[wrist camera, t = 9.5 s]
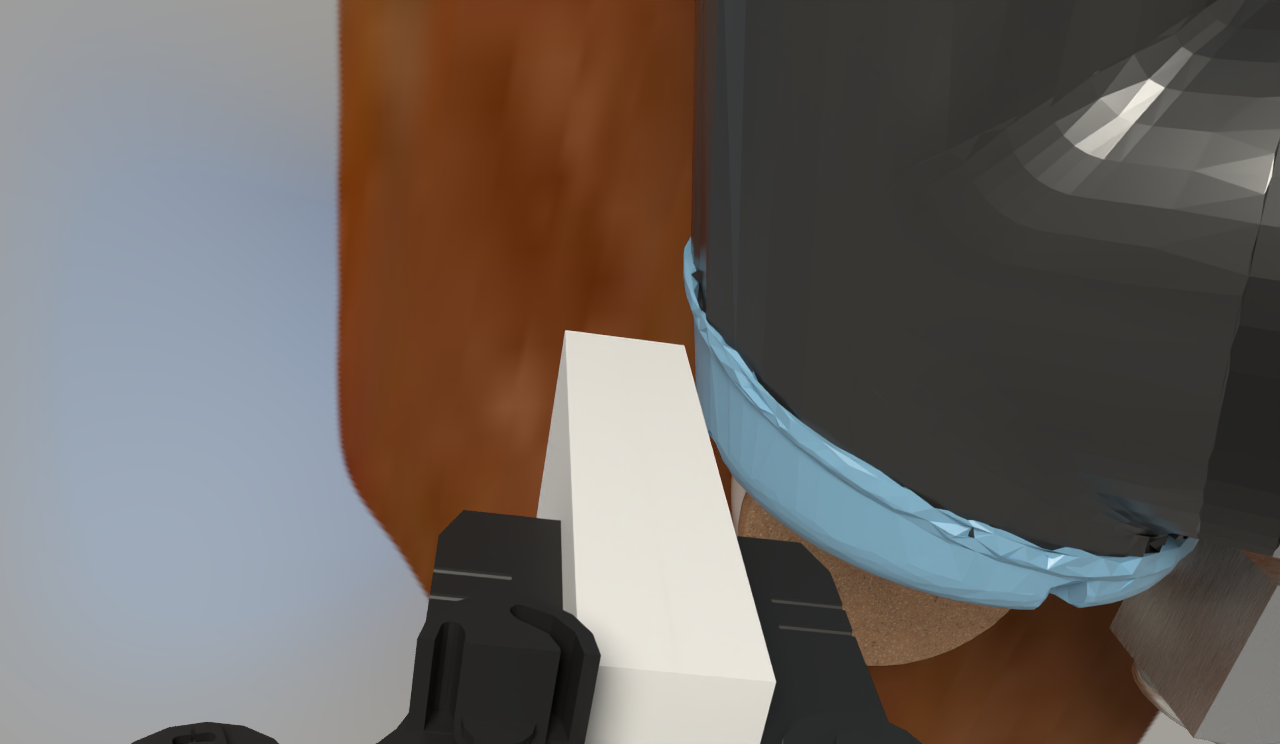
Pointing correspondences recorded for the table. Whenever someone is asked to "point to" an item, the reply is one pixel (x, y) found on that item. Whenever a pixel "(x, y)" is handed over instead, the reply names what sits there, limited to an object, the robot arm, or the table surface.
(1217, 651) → the dial indicator
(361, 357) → the table surface
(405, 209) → the table surface
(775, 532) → the lidded jar
